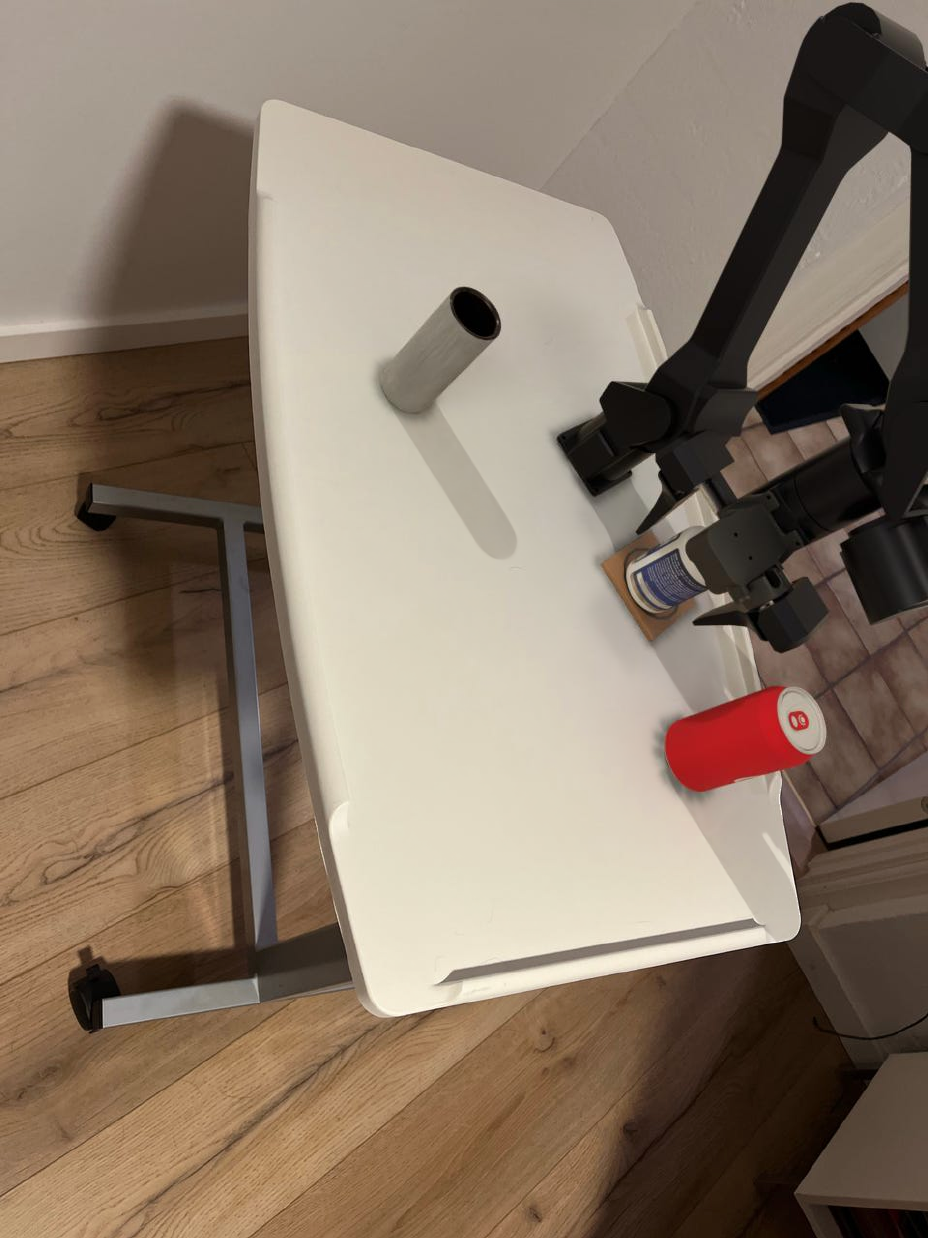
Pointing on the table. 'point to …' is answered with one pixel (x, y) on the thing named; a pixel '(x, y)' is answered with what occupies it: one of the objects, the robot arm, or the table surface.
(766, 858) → the table surface
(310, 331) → the table surface
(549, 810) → the table surface
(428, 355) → the grey hollow cylinder
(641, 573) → the pill bottle
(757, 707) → the beverage can
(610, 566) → the square brown coaster
